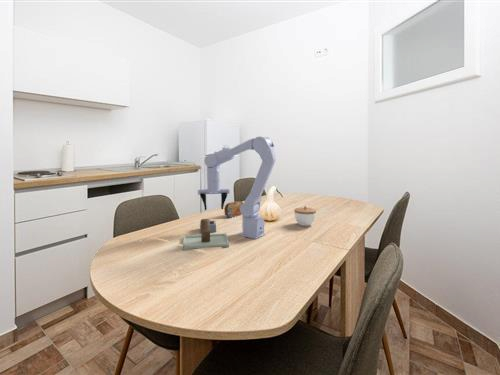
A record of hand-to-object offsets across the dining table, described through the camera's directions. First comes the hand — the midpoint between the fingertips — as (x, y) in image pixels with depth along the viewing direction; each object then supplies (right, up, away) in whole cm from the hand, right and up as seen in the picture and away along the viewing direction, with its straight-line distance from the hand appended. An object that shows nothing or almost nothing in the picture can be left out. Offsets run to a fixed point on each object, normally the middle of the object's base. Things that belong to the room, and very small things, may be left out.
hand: (214, 209), depth 134 cm
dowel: (-1, -12, -16) cm, 20 cm away
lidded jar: (+45, -9, +12) cm, 47 cm away
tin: (+8, -7, +30) cm, 32 cm away
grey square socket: (-3, -11, 0) cm, 11 cm away
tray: (-1, -13, -16) cm, 20 cm away
